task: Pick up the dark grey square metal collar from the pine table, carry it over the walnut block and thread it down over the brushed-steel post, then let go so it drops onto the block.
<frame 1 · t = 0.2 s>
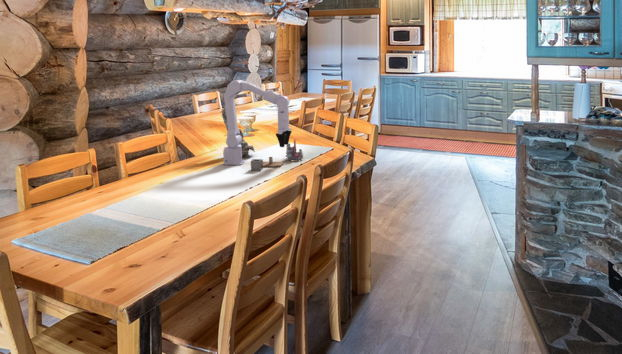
hand: (284, 145, 296), 10 cm above the table, tool pointing down, fingers open, 7 cm apart
grey jagged piece: (294, 160, 311), on the table
collar: (257, 169, 286), on the table
statue: (239, 156, 322), on the table
shaft block: (271, 165, 296), on the table
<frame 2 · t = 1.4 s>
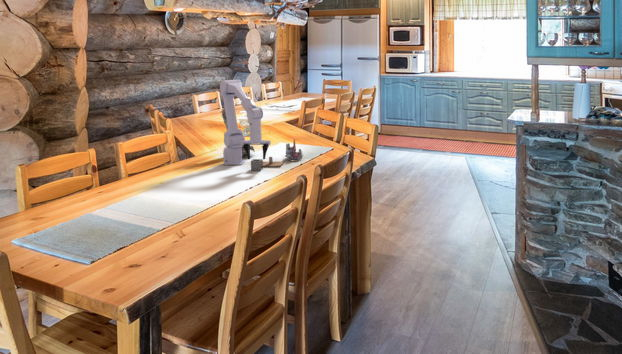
hand: (256, 159, 285), 6 cm above the table, tool pointing down, fingers open, 7 cm apart
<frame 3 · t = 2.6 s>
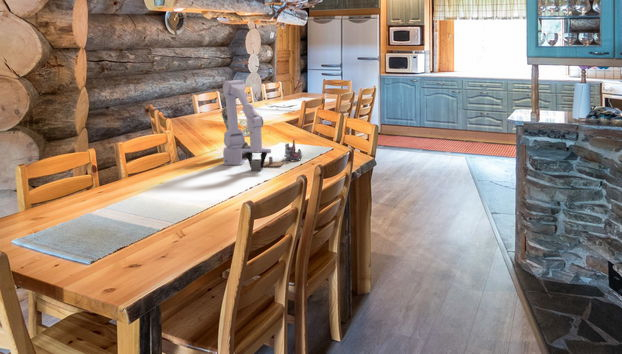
hand: (256, 167, 286), 1 cm above the table, tool pointing down, fingers closed on collar, 5 cm apart
collar: (257, 169, 286), on the table, touching gripper
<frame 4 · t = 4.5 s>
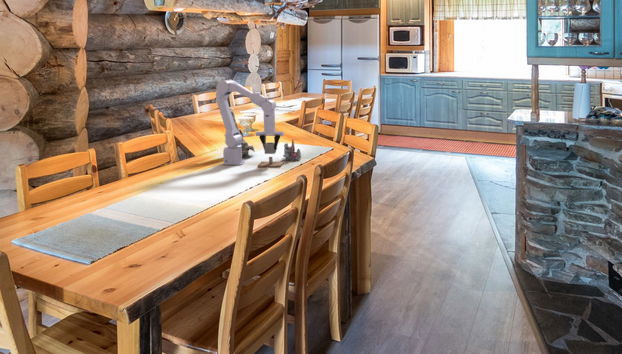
hand: (270, 149, 294), 8 cm above the table, tool pointing down, fingers closed on collar, 5 cm apart
collar: (270, 152, 294), point 7 cm above the table, touching gripper
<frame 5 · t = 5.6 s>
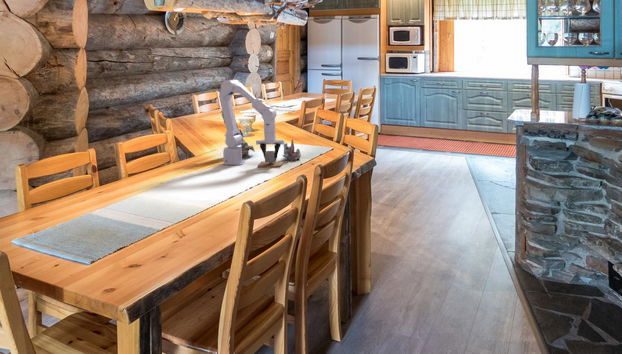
hand: (270, 158, 295), 4 cm above the table, tool pointing down, fingers closed on collar, 5 cm apart
collar: (270, 161, 295), point 2 cm above the table, touching gripper
when the fingers open (4 cm above the table, at t = 6.4 s): collar drops 1 cm, resting on shaft block.
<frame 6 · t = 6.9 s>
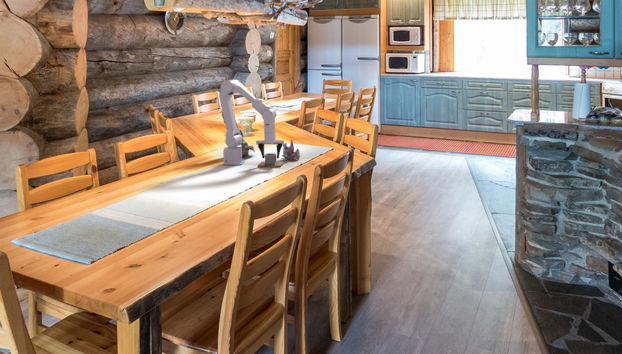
hand: (270, 158, 295), 4 cm above the table, tool pointing down, fingers open, 7 cm apart
collar: (270, 163, 296), point 1 cm above the table, touching shaft block
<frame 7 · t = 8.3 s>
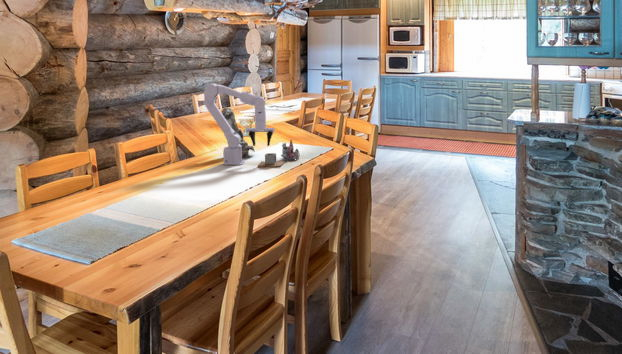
hand: (261, 145, 301), 9 cm above the table, tool pointing down, fingers open, 7 cm apart
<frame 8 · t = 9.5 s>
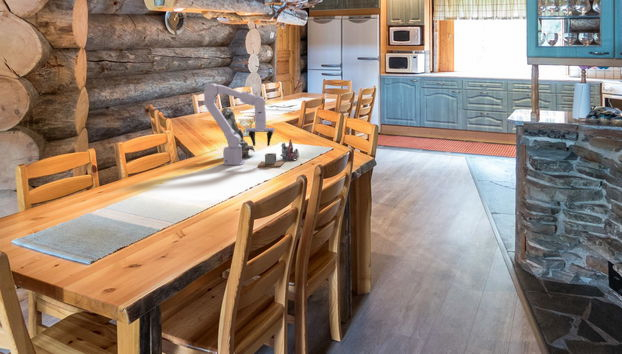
hand: (261, 145, 301), 9 cm above the table, tool pointing down, fingers open, 7 cm apart
at the end: collar 0.3 cm off-centre on the shaft block, point 1.0 cm above the shaft block's base; the gripper is holding nothing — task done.
